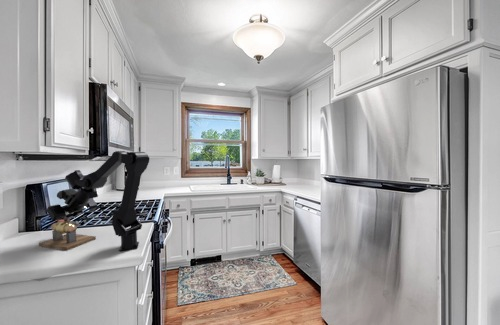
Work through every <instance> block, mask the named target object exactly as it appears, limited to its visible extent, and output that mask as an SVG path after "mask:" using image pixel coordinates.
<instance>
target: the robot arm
mask: <svg viewBox="0 0 500 325" xmlns="http://www.w3.org/2000/svg"><path fill="white" fill-rule="evenodd" d="M149 163H150V156H149V155H148V153H147V152H145V151H130V152H129V151H125V150H122V151H121V150H117V151H116V150H115V151H113V152H112V154H111V156H109V157H108V158H107V159H106V161H105V162H103V163H102V165H100V166H99V168H97V169H96V170H95V171H93V172H90V173H88V174H87V175H84V174H83V173H82V171H81V170H80V169H77V170H74V171H72V172H70V173H69V174H67V175H66V176H65V180H66V182H67V184H68V186H70V187H71V188H69V189H62V190H59V191H58V192H57V193H56V197H57V199H59V200H64V204H65V205H63V206H62V205H61V204H59V203H58V204H54V205H48V206H47V208H46V210H45V211H46V213H47V214H48V216H49V217H50V219H51V220H52V221H58V220H64V221H66V220H71V219H73V218H75V217H76V218H77V217H78V216H80V215H83V214H84V213H85V212H84V211H85V210H86V209H88V208H89V209H88V210H89V212H92V211H96V209H97V208H98V204H97V203H96V201H95V200H94V198H98V197H99V195H98V193H97V190H96V189H100V188H101V189H102V188H103V187H104V186H105V185H106V183H107V182H108V178H109V176H110V175H112V174H113V173H114V172H115V171H116V170H117V169H118V168H119V166H121V165H123V164H124V169H125V170H126V173H127V174H126V179H125V183H124V188H123V193H122V199H121V203H120V207H119V208H118V209H114V210H113V211H112V212H113V213H112V217H111V219H110V220H111V221H112V222H111V224H112V227H113V231H114V234H115V236H118V237H120V244H121V245H120V247H119V249H118V251H119V252H122V251H128V250H136V249H138V248H139V244H140V242H139V241H138V231H139V230H142V227H143V224H142V223H141V221H140V220H139V219H138V218H137V215H138V213H137V211H136V209H135V204H136V201H137V196H138V190H139V187H140V182H141V178H142V174H143V173H144V172H146V170H147V168H148V165H149Z"/></svg>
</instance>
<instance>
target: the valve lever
mask: <svg viewBox="0 0 500 325" xmlns="http://www.w3.org/2000/svg"><path fill="white" fill-rule="evenodd" d="M61 222H69V223H70V224H73V223H74V225H76V226H77V227H78V226H80V222H79V221H78V220H75V221H73V220H71V219H69V220H66V221H64V219H59V220H57V223H61Z"/></svg>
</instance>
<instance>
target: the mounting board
mask: <svg viewBox="0 0 500 325" xmlns="http://www.w3.org/2000/svg"><path fill="white" fill-rule="evenodd" d="M62 235H63V239H62V240H59V241H56V242H55V241H53V238H51V239H47V240H44V241H42V242H39V243H38V244H39V245H38V246H39V247H42V248H49V249H56V250H62V251H69V250H70V251H71V250H72V249H74V248H77V247H79V246H82V245H85V244H87V243H90V242H92V241H95V240H96V236H95V235H87V234H78V233H76V241H75V242H72V243H70V244H69V243H67V241H66V233H65V234H62Z"/></svg>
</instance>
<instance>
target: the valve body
mask: <svg viewBox="0 0 500 325" xmlns="http://www.w3.org/2000/svg"><path fill="white" fill-rule="evenodd" d="M50 229H51V230H52V231H51V232H52V234H51V235H52V239H53V241H55V242H56V241H59V240H62V239H63V235H65V234H66V241H67V243H69V244H70V243H72V242H75V241H76V234H77V229H78V226H76V225H74V223H73V224H70V223H69V222H61V223H58V222H55V223H52V224H51V225H50Z"/></svg>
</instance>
